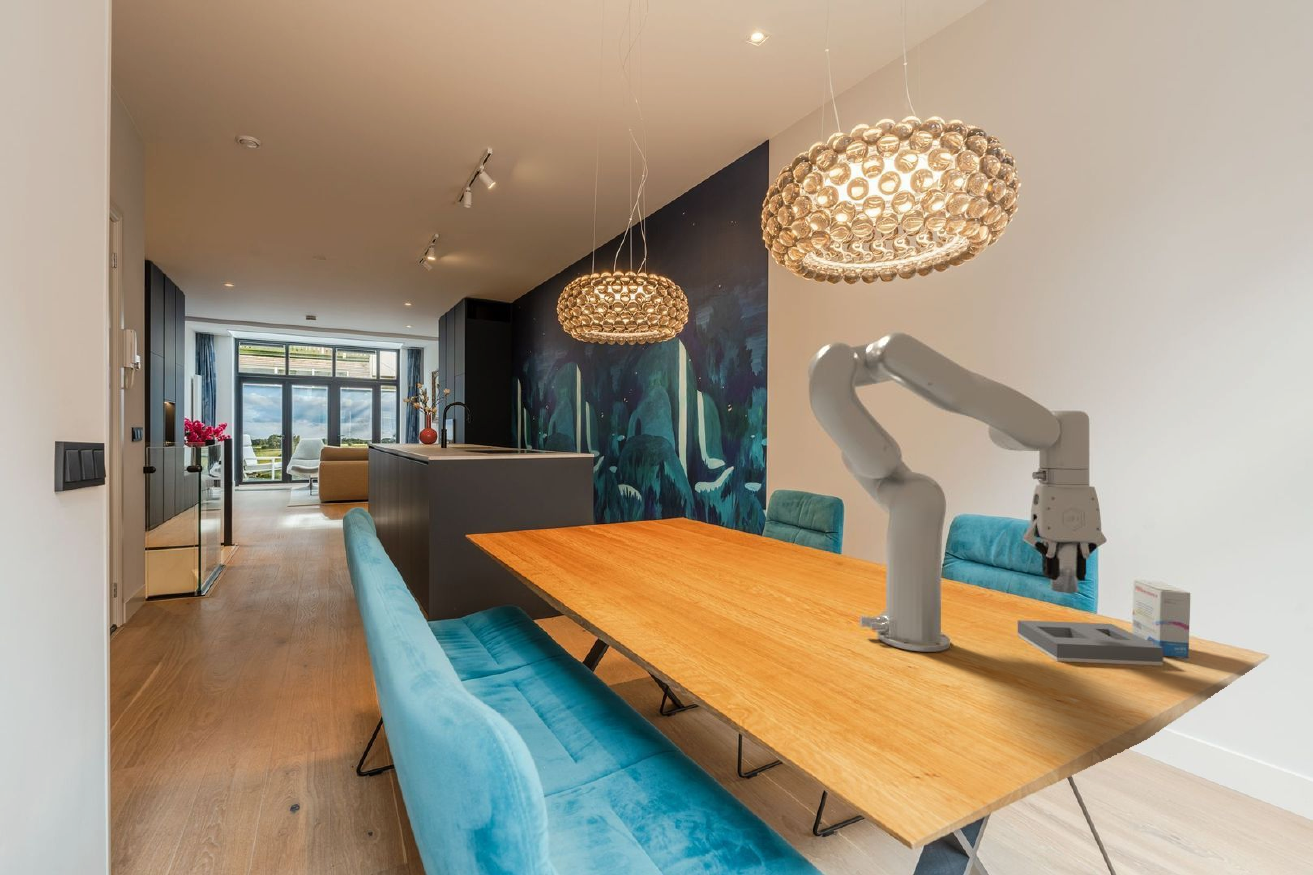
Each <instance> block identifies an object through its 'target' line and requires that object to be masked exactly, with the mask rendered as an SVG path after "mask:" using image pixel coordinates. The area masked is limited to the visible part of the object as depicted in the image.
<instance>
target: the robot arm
mask: <svg viewBox="0 0 1313 875" xmlns="http://www.w3.org/2000/svg"><path fill="white" fill-rule="evenodd" d="M807 368H808V369H807V375H808V378H809V381H808V397H809V398H808V399H809V403H810V408H811V410H812V413H813V415H814V417H815V418H816V420H817V422H818V423H819V425H820V426H821V427H822V428H823V430H824V431H825V432H826V434H828V436H829V437H830V438H831V440H832V441H833V442H834V444H835V445H837V447H838V448H839V449H840V451H841V459H842V462H843V465H844V466H845V467H846V469H847V471H848V472H849V473H850V474H851V476H852V477H853V478H854V479H855V480H856V481H857V482H858V483H859V485H860V486H861V487H862V488H863V489H864V491H866V492H867V494H868V495H869V496H870V497H871V498H872V499H873V501H875V502H876V504H877V505H878V506H879V507H880V508H881V509H882V510H883V512H885V513H888V514H889V515H888V516H889V519H888V525H887V534H886V545H885V546H886V555H885V556H886V574H885V575H886V576H885V577H886V578H885V579H886V580H885V581H886V583H885V592H886V593H885V610H883V611H882V610H881V611H880V612H881V613H880V615H876V616H875V617H874V616H873V617H871V616H865V615H864V616H863V615H862V616H861V615H860V617H859V625H860V627H861V628H864V627H865V628H869V629H870V630H871V631H873V630H874V631H876V635H877V638H878V639H879V640H880V641H881V642H882V643H884V644H887V645H889V646H892V647H895V648H898V649H901V650H902V649H903V650H905V651H906V650H907V651H911V652H912V651H914V652H922V653H925V652H926V653H927V652H928V653H933V652H935V653H936V652H941V651H945V650H947V649H949V648H950V647H951V638H950V637H949V636H948V635H946V634H945V633H943V632H942V552H943V551H942V543H943V530H944V526H945V525H944V524H945V519H946V518H945V517H946V513H947V512H946V510H947V501H946V495H945V492H944V490H943V488H942V487H941V485H940V484H939V483H938V481H937V480H935V479H934V478H932V477H930V476H929V475H927V474H923V473H920V472H916V471H913V470H911V469H910V468H909V467H908V465H906V463H905V462H904V460H903V456H902V449H901V447H900V445H899V444H898V443H899V442H897V441H896V439H895V438H894V437H893V436H892V435H891V434H890V433H889V432H888V431H887V430H886V429H885V428H884V427H883V426H882V425H881V424H880V423H879V421H878V420H877V419H876V418H875V417H874V416H873V415H872V413H870V411H869V410H868V409H867V407H866V406H865V405H864V404H863V403H862V401H861V400H860V398H859V396H858V394H857V391H856V388H859V387H865V386H870V385H876V384H881V383H886V382H890V381H893V382H894V383H897V384H898V385H899V386H901V387H903V388H905V389H907V390H909V391H910V392H911V393H913V394H915V395H916V396H918V397H919V398H922V399H923V400H924V401H926V402H927V403H929V404H930V405H932V406H934V407H936V408H938V409H941V410H942V411H946V412H949V413H952V414H956V415H961V416H966V417H969V418H972V419H975V420H977V421H980V422H982V423H984V424H986V425H988V436H989V438H990V441H992V443H994V445H996V446H998V447H999V448H1001V449H1004V450H1008V451H1017V452H1018V451H1020V452H1022V451H1024V452H1025V451H1028V452H1039V455H1038V456H1039V459H1038V460H1039V461H1038V462H1039V463H1038V464H1039V466H1038V470H1037V471H1033V472H1032V473H1031V477H1032V479H1033V480H1037V482H1038V484H1036V485H1035V488H1034V492H1033V495H1032V496H1033V497H1032V502H1031V510H1030V525H1029V527H1028V528H1027V530H1026V531H1025V532H1024V534H1023V535H1022V537H1021V538H1022V541H1023V542H1025V543H1027V544H1029V545H1031V546H1032V548H1034V549H1035V550H1036V551H1037V552H1038V553H1039V555H1041V559H1042V560H1041V561H1042V563H1041V564H1042V565H1041V566H1042V567H1041V570H1042V573H1043V577H1045V578H1046V579H1049V580H1050V581H1051V580H1056V579H1057V558H1054V553H1055V548H1056V544H1057V542H1077V564H1078V581H1086V575H1087V559H1089V558H1091V554H1092V553H1093V552H1095V551H1096V550H1097V548H1099V547H1100V546H1102V545H1104V544H1105V543H1107V538H1106V536H1105V535H1104V534H1103V532H1102V518H1101V511H1100V510H1101V509H1100V504H1099V499H1098V494H1097V490H1096V488H1095V486H1091V485H1090V417H1089V416H1088V414H1087V413H1086V412H1084V411H1082V410H1053V411H1050V410H1049V409H1048V408H1047V407H1045V406H1043V405H1042V404H1040V403H1038V402H1037V401H1035V400H1033V399H1032V398H1030V397H1029V396H1027V395H1025V394H1023V393H1021V392H1020V391H1018V390H1016V389H1015V388H1012V387H1011V386H1010V387H1009V386H1008V385H1005V384H1003V383H1000V382H998V381H995V380H994V379H990V378H988V377H986V376H983V375H982V374H979V373H976V372H973V371H971V370H969V369H967V368H965V367H963V366H961V365H960V364H959V363H956V362H954V361H953V360H951V359H949V358H948V357H946V356H945V355H943V354H942V353H940V352H939V351H936V350H935V349H933V348H932V347H930V346H928V345H927V344H925V343H924V342H922V341H920V340H919V339H917V338H915V337H913V336H911V335H909V334H908V333H905V332H892V333H889V334H887V335H885V336H882V337H881V338H880V339H878V340H877V341H873V342H870V343H865V344H861V345H855V346H850V345H849V344H847V343H844V342H832V343H828V344H826V345H824V346H823V347H822V348H821V349H819V350H818V351H817V352H816V354H815V355H814V356H813V357H812V358H811V359H810V361H809V363H808V367H807ZM1037 538H1038V539H1040V540H1038V539H1037Z"/></svg>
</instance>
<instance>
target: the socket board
mask: <svg viewBox="0 0 1313 875" xmlns="http://www.w3.org/2000/svg"><path fill="white" fill-rule="evenodd" d="M1017 637H1019V638H1020V639H1022V640H1023V641H1025V642H1027V644H1030V645H1031V646H1033V647H1034V648H1036V649H1038V650H1039V651H1040V652H1042V653H1044V654H1045V655H1046V656H1048V657H1050V658H1052V659H1053V660H1055V661H1056V662H1071V663H1075V662H1076V663H1091V664H1093V663H1094V664H1095V663H1096V664H1115V665H1116V664H1118V665H1119V664H1120V665H1142V666H1143V665H1144V666H1164V656H1163V648H1162V647H1160V646H1158V645H1156V644H1154V643H1152V642H1149V641H1147V640H1145V639H1143V638H1141V637H1139V636H1136V635H1134V634H1132V632H1130V631H1128V630H1125V629H1123V628H1122V627H1119V626H1117V625H1115V624H1112V623H1104V622H1103V623H1100V622H1099V623H1098V622H1097V623H1096V622H1077V621H1076V622H1070V621H1048V620H1047V621H1046V620H1043V621H1042V620H1017Z"/></svg>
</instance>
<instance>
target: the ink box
mask: <svg viewBox="0 0 1313 875" xmlns="http://www.w3.org/2000/svg"><path fill="white" fill-rule="evenodd" d="M1132 588H1133V591H1132V592H1133V593H1132V594H1133V595H1132V619H1131V620H1132V621H1131V623H1132V624H1131V633H1132V634H1134V635H1136V636H1139V637H1141V638H1143V639H1145V640H1147V641H1149V642H1152V643H1154V644H1156V645H1158V646H1160V647H1162V648H1163V657H1173V658H1185V659H1188V658H1189V655H1190V654H1189V652H1190V651H1189V650H1190V649H1189V648H1190V620H1191V618H1190V617H1191V616H1190V614H1191V592H1190V591H1187V590H1184V589H1181V588H1178V587H1176V586H1173V585H1170V584H1167V583H1164V582H1163V581H1153V580H1142V579H1134V580H1133V587H1132Z"/></svg>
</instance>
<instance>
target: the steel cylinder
mask: <svg viewBox="0 0 1313 875" xmlns="http://www.w3.org/2000/svg"><path fill="white" fill-rule="evenodd" d="M1054 558H1057V579H1056V580H1051V579H1050V590H1051V591H1054V592H1058V593H1064V594H1065V593H1066V594H1077V593H1078V591H1079V590H1078V588H1079V587H1078V585H1079V584H1078V581H1079V580H1078V564H1077V542H1057V544H1056V548H1055V553H1054Z"/></svg>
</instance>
